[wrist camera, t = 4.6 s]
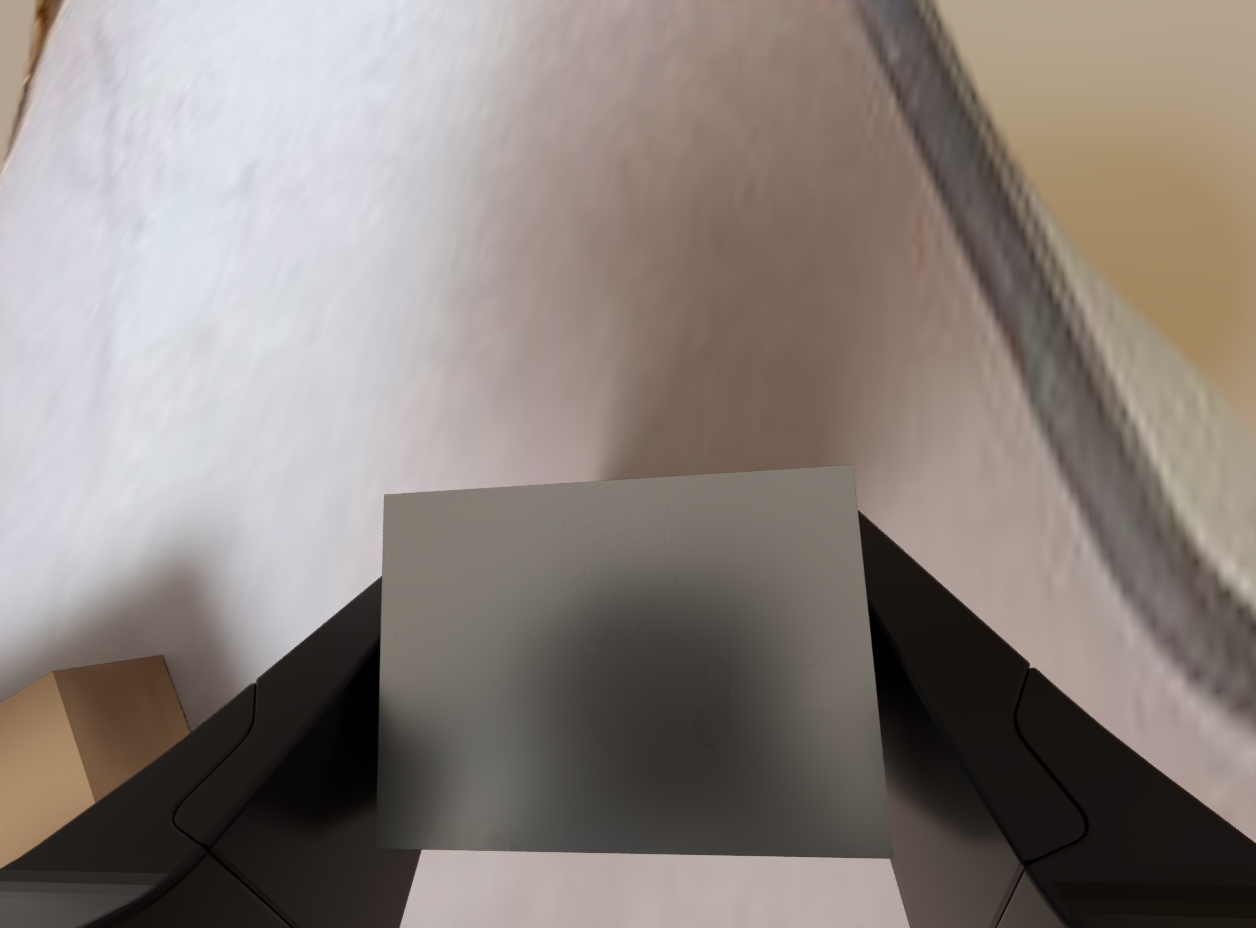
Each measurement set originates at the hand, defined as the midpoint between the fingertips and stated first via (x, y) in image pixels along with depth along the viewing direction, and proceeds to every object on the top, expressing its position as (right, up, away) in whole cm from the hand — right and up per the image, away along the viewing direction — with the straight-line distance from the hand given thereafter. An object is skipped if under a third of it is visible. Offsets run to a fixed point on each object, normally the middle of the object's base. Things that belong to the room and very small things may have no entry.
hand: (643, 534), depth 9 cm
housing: (+1, -3, +7) cm, 7 cm away
